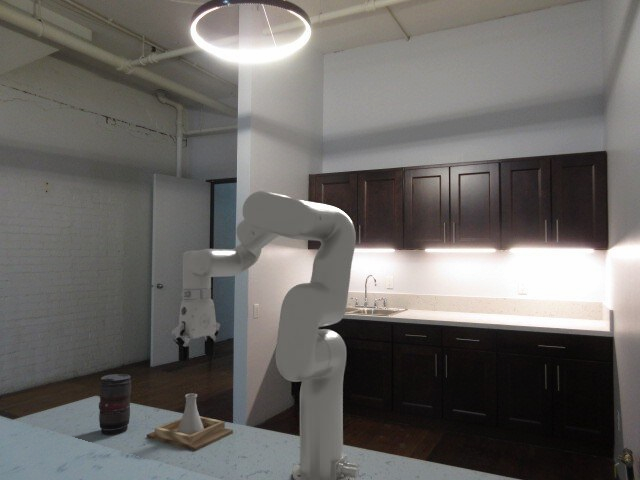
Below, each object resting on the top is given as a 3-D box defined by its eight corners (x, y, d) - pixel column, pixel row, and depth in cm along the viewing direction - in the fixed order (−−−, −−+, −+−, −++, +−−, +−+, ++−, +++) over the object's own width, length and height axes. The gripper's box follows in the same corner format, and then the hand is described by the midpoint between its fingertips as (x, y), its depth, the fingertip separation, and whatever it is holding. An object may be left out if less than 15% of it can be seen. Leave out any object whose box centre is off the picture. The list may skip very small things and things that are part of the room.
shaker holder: (232, 433, 126) (232, 422, 126) (195, 451, 114) (195, 439, 114) (185, 422, 135) (186, 412, 135) (146, 437, 123) (146, 427, 123)
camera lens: (118, 437, 123) (119, 380, 124) (92, 435, 125) (93, 379, 126) (136, 426, 131) (137, 373, 132) (111, 425, 133) (112, 372, 134)
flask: (176, 438, 120) (176, 400, 121) (177, 429, 127) (177, 392, 128) (204, 435, 122) (205, 397, 123) (204, 426, 129) (204, 390, 130)
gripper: (183, 297, 117) (183, 365, 116) (228, 293, 132) (228, 353, 131) (162, 297, 121) (162, 362, 120) (208, 293, 136) (209, 351, 135)
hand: (197, 358), depth 126 cm, fingers open, 9 cm apart
